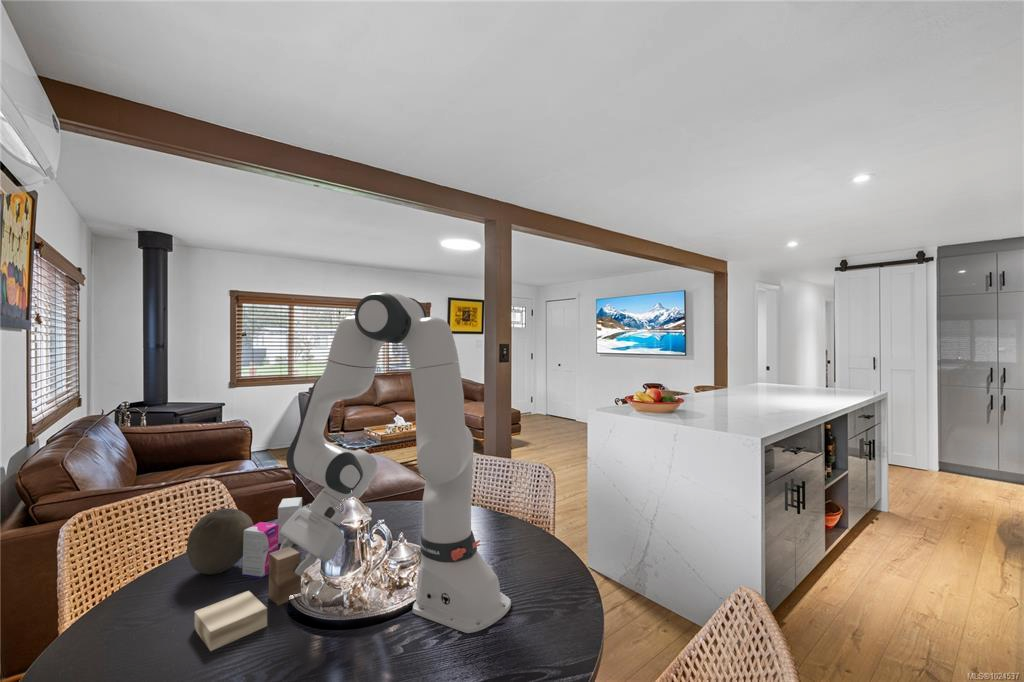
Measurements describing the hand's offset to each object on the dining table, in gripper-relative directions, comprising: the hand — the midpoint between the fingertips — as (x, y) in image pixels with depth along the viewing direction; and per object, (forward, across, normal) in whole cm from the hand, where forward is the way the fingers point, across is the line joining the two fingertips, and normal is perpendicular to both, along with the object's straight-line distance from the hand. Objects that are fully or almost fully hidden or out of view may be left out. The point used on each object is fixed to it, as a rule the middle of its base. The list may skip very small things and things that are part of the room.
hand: (286, 566), depth 104 cm
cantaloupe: (+9, -25, +1) cm, 26 cm away
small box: (-5, -31, +15) cm, 35 cm away
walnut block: (+5, 0, +4) cm, 7 cm away
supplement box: (+4, -16, +5) cm, 17 cm away
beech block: (+14, +3, -4) cm, 15 cm away
